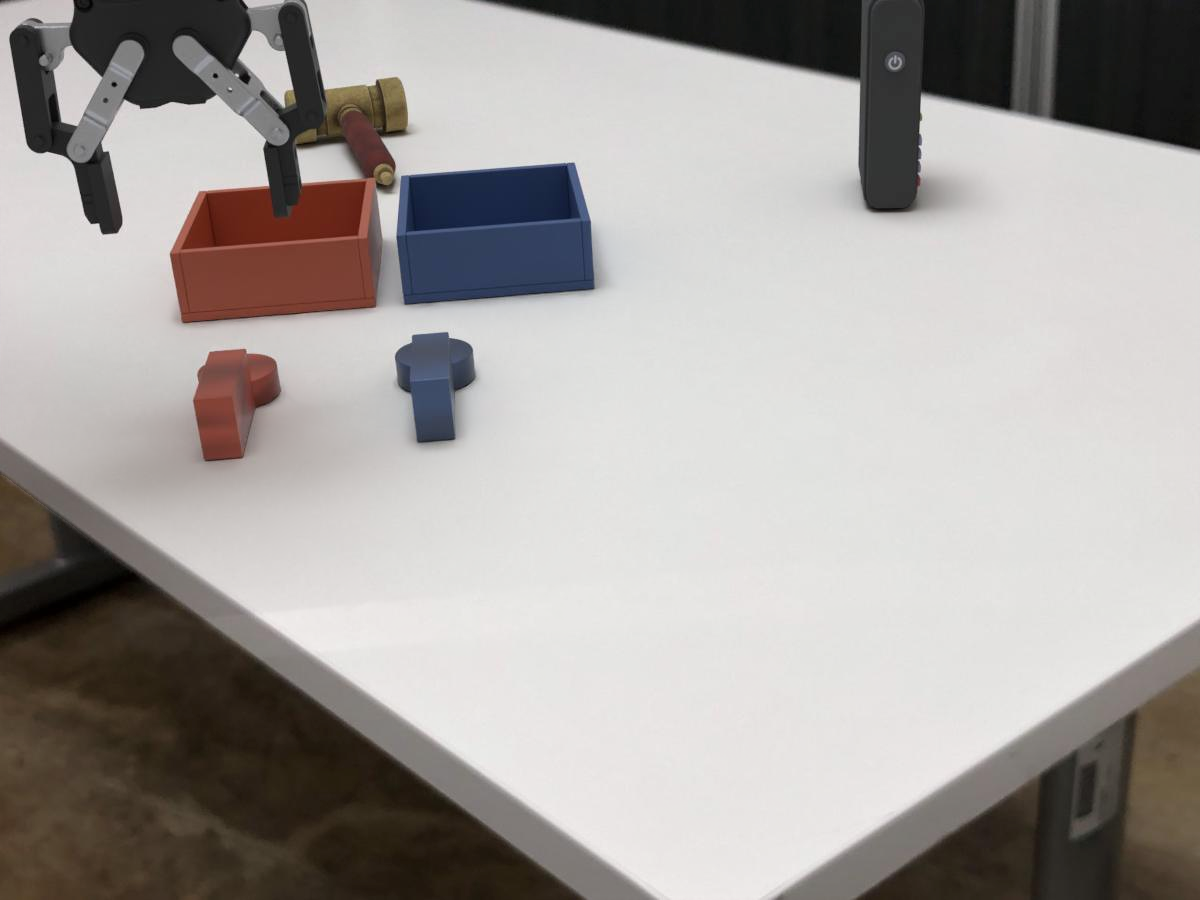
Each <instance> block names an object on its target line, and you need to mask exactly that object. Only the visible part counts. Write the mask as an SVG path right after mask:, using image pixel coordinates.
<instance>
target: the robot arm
mask: <svg viewBox="0 0 1200 900" xmlns="http://www.w3.org/2000/svg"><path fill="white" fill-rule="evenodd" d="M72 3H73V15H72V19H71V22H43V21H42V20H41V19H39V18H37V17H30V18H27V19H25V20H24V21H22V22H21V23H19V24H18V25H17V26H15V28H14V29H13V30H12V31H11V32H10V34H9V38H8V42H9V47H10V54H11V59H12V65H13V72H14V76H15V83H16V90H17V95H18V101H19V107H20V113H21V119H22V126H23V132H24V137H25V143H26V146H27V147H28V149H29V150H30V151H32V152H33V153H36V154H41V155H42V154H45V153H50V154H54V155H58V156H62V157H64V158H66V159H67V160H68V161H69V162H70V163H71V164H72V166H73V169H74V173H75V178H76V181H77V187H78V191H79V196H80V200H81V205H82V209H83V210H82V211H83V214H84V216H85V218H86V219H87V221H88V222H89V224H90V225H99V230H100V233H101V234H102V235H103V236H105V235H117V234H118V233H119V232H120V230H121V228H122V227H123V221H124V220H123V218H124V217H123V212H122V207H121V203H120V197H119V193H118V190H117V189H118V188H117V184H116V179H115V174H114V169H113V164H112V159H111V154H110V151H109V150H106V151H104V147H103V143H102V142H103V141H104V139H105V137H106V135H107V133H108V131H109V130H110V127H111V126H112V124H113V122H114V120H115V118H116V117H117V114H118V113H119V111H121V108H122V106H123V105H124V103H125V101H126V102H128V103H129V104H132V105H133V106H134V105H135V106H138V107H139V110H147V109H156V108H159V107H162V106H165V105H167V104H170V103H176V104H181V105H188V106H193V105H194V106H195V105H204V104H206V103H207V102H208V101H209V100H211V99H213V98H214V97H215V96H218V97H219V99H220V100H221V101H222V102H224V103H225V105H226V106H228V107H229V108H230V109H231V110H232V112H234V113H235V114H236V115H238V116H240V117H242V118H243V119H244V120H246V122H248V123H249V125H250V126H251V127H252V128H253V129H254V130H256V131H257V132H258V133H259V134H260V136H262V137H263V139H265V142H264V144H263V146H262V147H263V148H262V151H263V156H264V162H265V169H266V174H267V182H268V186H269V188H270V194H271V200H272V206H273V212H274V217H275V219H276V218H287V217H290V213H291V210H292V205H298V202H299V198H300V194H301V190H302V183H303V182H302V177H301V171H300V170H301V169H300V163H299V157H298V150H297V144H296V143H295V139H296V137H297V136H298V135H300V134H301V133H303V132H306V131H308V130H310V129H317V128H319V127H320V126H321V125H322V124H323V122H324V118H325V115H326V111H327V100H326V95H325V90H326V89H325V86H324V80H323V76H322V71H321V65H320V61H319V57H318V50H317V46H316V42H315V37H314V32H313V27H312V22H311V17H310V13H309V8H308V4H307V2H306V1H305V0H284V1H283V2H281V3H274V4H267V5H260V6H253V7H249V6H248V5H247V4H246V2H245V1H244V0H72ZM253 31H256V32H259V33H260V34H262V35H263V36H264V37H265V38H266V40H267V43H268V45H269V46H270V48H271V49H273V50H275V51H277V52H284V53H285V58H286V62H287V67H288V72H289V76H290V80H291V85H292V90H293V91H294V95H295V100H296V103H294V104H292V105H290V106H287V107H285V106H283V104H282V103H280V102H279V100H278V99H277V98H275V97H274V96H273V94H272V93H271V92H269V90H267V88H266V87H265V85H264V83H263V82H262V80H261V79H260V78H259V77H258V76H257V75H256V74H255V73H254V72H253V71H252V70H251V69H250V68H249V67H248V66H247V65H246V64H245V63H244V62H243V61H242V60H241V59H240V55H241V54H242V52H243V49H244V48H245V46H246V44H247V43H248V41H249V38H250V36H251V35H252V32H253ZM68 47H72V48H73V50H74V51H75V52H76V54H78V55H79V57H81V58H82V59H83V60H84V62H85V63H87V64H88V65H89V66H90V67H91V68H92V70H94V71H95V73H96V74H97V75H99V76H100V77H101V79H100V81H99V83H98V85H97V87H96V88H95V91H94V92H93V94H92V96H91V98H90V99H89V102H88V104H87V105H86V108H85V109H84V111H83V114H82V117H81V118H80V121H79V123H78V124H77V125H74V124H71V123H67V122H63V121H62V117H61V110H60V104H59V98H58V89H57V85H56V78H55V71H54V70H56V69H57V68H58V67H60V65H61V64H62V63H63V61H64V60H65V51H66V48H68Z"/></svg>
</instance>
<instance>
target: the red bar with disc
mask: <svg viewBox="0 0 1200 900" xmlns="http://www.w3.org/2000/svg"><path fill="white" fill-rule="evenodd" d="M196 376H197V382H198V384H197V387H196V390H195V392H194V396H193V398H192V403H193V408H194V414H195V420H196V425H197V429H198V436H199V439H200V447H201V450H202V451H201V452H202V458H203V460H204V461H212V460H213V461H214V460H224V459H235V458H236V459H237V458H243V457H244V452H245V448H246V444H247V441H248V437H249V433H250V429H251V424H252V421H253V417H254V413H255V409H256V408H257V407H260V406H263V405H265V404H268V403H269V402H272V401H273V400H275V399H276V398H277V397H278V396H279V395H280V394H281V381H280V376H279V368H278V363H277V361H276V360H275V359H274V358H273V357H272V356H269V355H266V354H262V353H248V352H247V349H246V348H239V349H238V348H236V349H224V350H214V351H213V350H212V351H209V352H208V355H207V358H206V361H205V364H203V365H202V366H201V367H200V368H199V369H198V371H197V373H196Z"/></svg>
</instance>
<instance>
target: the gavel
mask: <svg viewBox="0 0 1200 900" xmlns="http://www.w3.org/2000/svg"><path fill="white" fill-rule="evenodd" d="M324 90H325V95H326V100H327V111H326V115H325V118H324V122H323V124H322V125H321V126H320V127H319V128H317V129H310V130H308V131H306V132H303V133H301V134H300V135H298V136H297V137H296V139H295V143H296V145H300V144H306V143H307V144H308V143H315V142H317V137H318V136H326V137H332V136H341V135H343V137H344V139H345V140H346V142H347V144H348V146H349V148H350V149H351V151H352V153H353V155H354V157H355V158H356V160H357V162H358V164H359V166H360V168H361V169H362V171H363V173H364V175H365V176H366V178H375V181H376V184H377V183H378V184H380V185H385V186H390V185H391V184H392V183H393V181H394V178H395V173H396V169H397V165H396V161H395V158H394V157H393V156H392V154H391V152H390V151H389V149H388V148H387V146H386V144H385V142H384V141H383V139H382V137H381V136H380V134H379V133H378V131H377V130H376V129H380V128H381V129H382V130H383V132H384V133H391V132H397V131H405V130H406V129H407V127H408V125H409V110H408V103H407V95H406V92H405V88H404V84H403V82H402V80H401V79H400V78H399V77H398V76H392V77H386V78H378V79H376V80H375V85H367V84H359V85H351V86H350V85H349V86H343V87H335V88H326V89H324ZM283 99H284V100H283V101H284V108H285V107H287V106H290V105H292V104H294V103H296V100H295V95H294V91H293V89H288V90H286V91H285V92H284V96H283Z"/></svg>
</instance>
